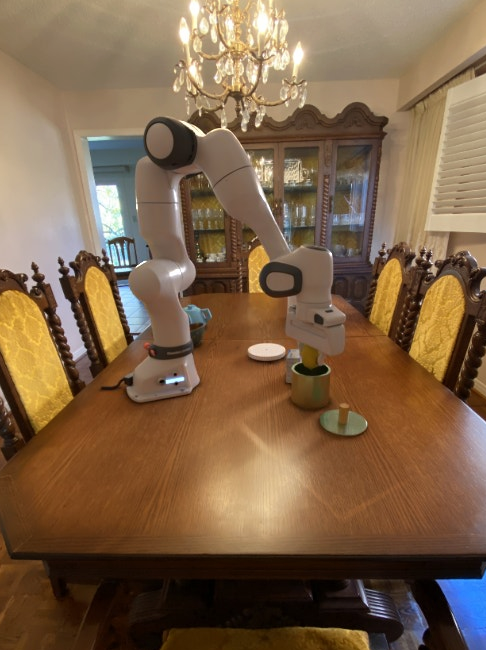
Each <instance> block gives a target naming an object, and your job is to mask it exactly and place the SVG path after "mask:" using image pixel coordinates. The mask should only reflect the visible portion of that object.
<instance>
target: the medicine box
mask: <svg viewBox="0 0 486 650" xmlns="http://www.w3.org/2000/svg"><path fill="white" fill-rule="evenodd" d="M285 361H286V362H285V382H286V384H291V379H292V366H293V365H294V364H296V363H299V362H302V360H301V356H299V349H298V348H289V349H288V353H287V355H286V359H285Z"/></svg>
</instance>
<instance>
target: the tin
mask: <svg viewBox="0 0 486 650" xmlns="http://www.w3.org/2000/svg"><path fill="white" fill-rule="evenodd" d="M331 372H332V370H331V367H330V366H329V364H326V363H324V365H322V366H319V365H318V366H317V367H316V368H313V369H312V370H310V369H309V368H307V367H306V366H304V364H303V363H302V362H299V363H296V364H294V365H293V366H292V379H291V383H290V385H291V387H290V391H291V392H290V399H291V401H292V403H293V404H294V405H296V406H297V407H300V408H303V409H309V410H310V409H311V410H313V409H320V408H323V407H326V405H328V404H329V400H330V390H331V389H330V388H331V387H330V385H331Z"/></svg>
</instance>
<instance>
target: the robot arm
mask: <svg viewBox="0 0 486 650" xmlns="http://www.w3.org/2000/svg"><path fill="white" fill-rule="evenodd" d="M142 137H143V139H142V142H143V143H142V144H143V148H144V151H145V154H146V155H145V156H143V157H141V158H140V159H138V161H137V163H136V165H135V173H134V174H135V175H134V191H135V193H134V194H135V204H136V213H137V223H138V231H139V235H140V236H141V238H142V239H143V240H144V241H145V243H146V244H147V245H148V248H149V251H150V254H151V257H152V259H148V260H144V261H143V262H141V263H140V264H137V266H135V267H134V268H133V269H132V270H130V273H129V275H128V281H127V282H128V287H129V290H130V292H131V294H132V295H133V296H134V297H135V298H136V299H137V300H139V301H140V302H141V303H142V304H143V306H144V308H145V310H146V312H147V314H148V317H149V321H150V326H151V334H152V333H153V336H152V338H153V339H152V340H153V342H152V343H151V344H150V343H149V342H145V343H144V344H143V349H144V350H145V351H146V352H147V353H148V356H147V357H145V359H144V360H143V361H141V363H139V364H138V365H137V366H136V367H135V368H134V370H133V372H130V373H128V374H125V375H124V376H123V377H122V378H121V379H119V381H118V382H117V383H116V385H112V386H109V385H107V386H106V385H102V386H100V389H101V390H115V389H117V388H119V387H121V385H122V383H123V382H124V385H125V386H126V394H127V396H128V397H129V398H130V399H131V400H132V401H134V402H136V403H147V402H152V401H153V402H154V401H158V400H164V399H169V398H173V397H180V396H185V395H189V394H191V393H192V391H193V389H194V388H196V387H197V386H198V385H199V384H200V382H201V378H200V376H199V373H198V371H197V368H196V364H195V360H194V352H195V351H194V348H193V343H192V339H191V337H190V327H189V317H188V314H187V313H186V312H185V311H184V310H183V307H182V305H181V302H180V300H179V293H182V292H183V291H186V290H187V289H188V288H189V287H190V286H191V285H192V284H193V282H194V281H195V278H196V275H197V271H196V267H195V264H194V263H193V262H192V260H191V259H190V257H189V254H188V250H187V248H186V245H185V241H184V237H183V232H182V222H181V220H182V219H181V210H180V198H179V197H180V196H179V184H180V182H181V180H182V179H184V180H186V181H187V180H189V179H192V178H194V177H197V176H200V175H202V174H204V176H205V177H206V179H207V181H208V183H209V185H210V187H211V189H212V191H213V193H214V196H215V197H216V200H217V201H218V202H219V204H220V206H221V208H223V210H224V211H225V212H226V214H227V215H228V216H230V217H231V218H233V219H235V220H237V221H238V222H241V223H242V224H244V225H245V226H247V227H248V228H250V229H251V230H252V231H253V232H254V234H255V235H256V237H257V239H258V241H259V242H260V244H261V246H262V248H263V250H264V252H265V254H266V256H267V257H268V259H269V261H268V262H267V263H265V265H263V267H262V268H261V269H260V271H259V274H258V283H259V287H260V289H261V290H262V292H263V293H264V294H265V295H266V296H268V297H270V298H273V299H282V298H288V297H290V296H296V305H294V304H293V305H291V306H290V307H289V309H288V308H287V314H286V317H285V318H286V319H285V326H284V327H285V328H284V332H285V335H286V337H288V338H290V339H292V340H295V341H296V345H297V349H299V356H301V353H302V349H303V347H304V346H305V345H308V346H310V347H312V348H314V349H317V350H318V353H319V354H320V355H319V357H318V358H316V360H315V361H316V362H315V363H316V364H317V365H319V366H322V365H324V364H325V359H326V358H327V356H329V357H335V356H339V355H341V354H342V353H343V352H344V351H345V348H346V328H345V325H344V323H346V321H347V316H346V314H345V313H344V312H342V311H341V310H340V309H338V307H336V306H335V304H334V303H332V301H333V299H332V298H333V297H332V286H333V283H334V258H333V254H332V252H331V250H330V249H329V248H327V247H326V246H323V245H318V244H311V243H304V244H301V245H300V246H299V247H298V248H296V249H295V250H293V249H292V248H291V246H290V245H289V243H288V241H287V239H286V237H285V235H284V233H283V232H282V229H281V227H280V226H279V224H278V223H277V220H276V218H275V217H274V214H273V213H272V210H271V207H270V205H269V202H268V200H267V197H266V194H265V192H264V188H263V186H262V184H261V182H260V179H259V176H258V174H257V172H256V170H255V168H254V166H253V163H252V162H251V159H250V157H249V156H248V153H247V152H246V150H245V148H244V147H243V146H242V144H241V142H240V140H239V139H238V138H237V137H236V135H235V134H234V133H233V132H232V131H231V130H229V129H228V128H223V127H221V128H219V127H218V128H215V129H213V130H210V131H209V132H207V133H206V131H204V130H203V129H201V128H199V127H197V126H196V125H194V124H192V123H190V122H189V121H184V120H180V119H178V118H176V117H173V116H170V115H169V116H167V115H161V116H156V117H154V118H153V119H151V120H150V121H149V122H148V123H147V124H146V126H145V128H144V132H143V136H142Z"/></svg>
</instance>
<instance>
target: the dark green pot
mask: <svg viewBox="0 0 486 650" xmlns="http://www.w3.org/2000/svg"><path fill="white" fill-rule="evenodd" d="M189 327H190V337H191V339H192V343H193V349H194V348H195V347H198V346H200V344H201V342H202V340H203V337H204V336H205V335H204V334H205V326H204V323H194V324H189ZM151 336H152V337H153V333H152V332H151Z"/></svg>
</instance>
